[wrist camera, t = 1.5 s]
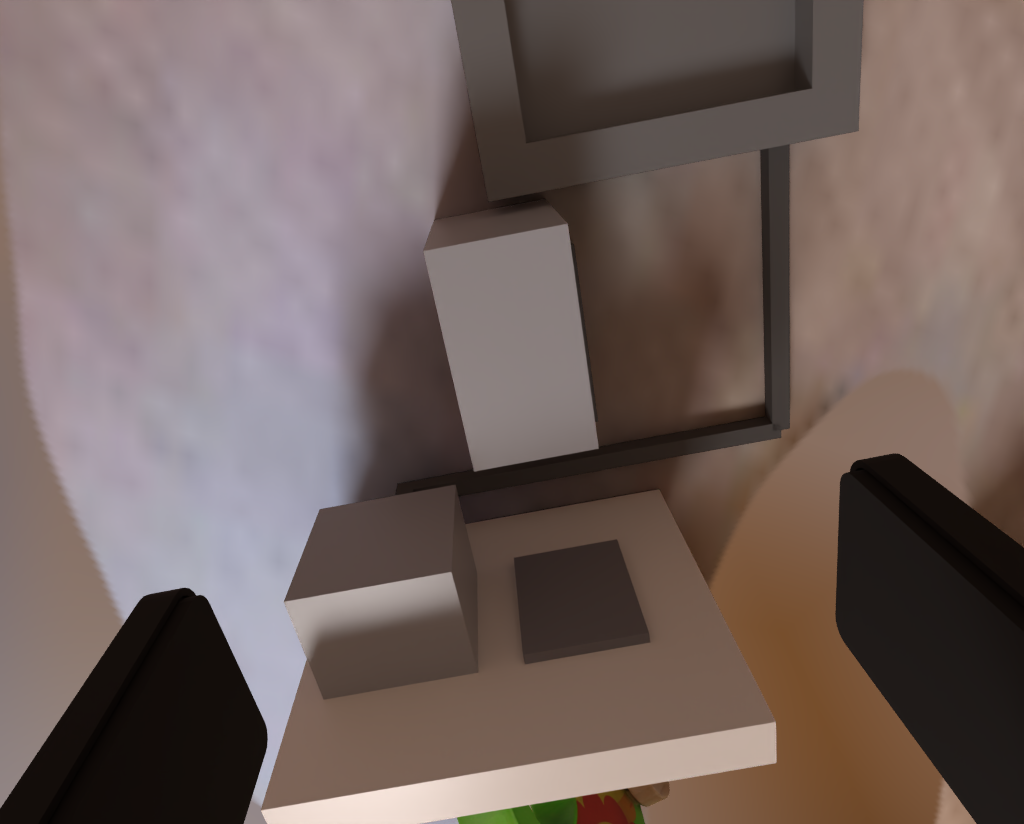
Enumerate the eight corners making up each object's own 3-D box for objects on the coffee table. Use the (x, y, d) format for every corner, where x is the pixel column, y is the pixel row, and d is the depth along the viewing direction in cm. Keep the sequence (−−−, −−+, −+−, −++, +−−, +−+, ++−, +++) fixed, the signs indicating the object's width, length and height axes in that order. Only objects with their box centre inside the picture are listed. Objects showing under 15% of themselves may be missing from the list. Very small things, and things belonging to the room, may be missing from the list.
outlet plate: (651, 405, 27) (774, 604, 16) (662, 519, 29) (776, 762, 18) (314, 467, 27) (206, 704, 16) (351, 575, 29) (279, 847, 18)
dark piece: (780, 138, 23) (832, 142, 20) (782, 428, 28) (824, 470, 24) (323, 226, 23) (299, 244, 20) (401, 497, 28) (392, 548, 25)
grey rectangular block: (549, 197, 23) (573, 222, 18) (575, 378, 26) (603, 447, 21) (434, 220, 24) (423, 250, 18) (473, 397, 26) (474, 471, 21)
